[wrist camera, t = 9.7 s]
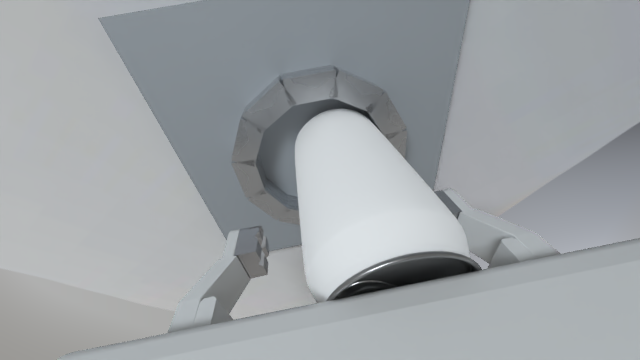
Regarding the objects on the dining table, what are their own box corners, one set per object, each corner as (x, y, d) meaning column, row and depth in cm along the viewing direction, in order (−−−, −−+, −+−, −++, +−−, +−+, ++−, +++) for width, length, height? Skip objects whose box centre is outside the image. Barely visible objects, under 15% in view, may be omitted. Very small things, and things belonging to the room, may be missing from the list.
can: (303, 97, 15) (341, 237, 5) (390, 116, 17) (543, 250, 7) (287, 177, 18) (292, 353, 9) (360, 187, 20) (434, 344, 10)
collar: (400, 52, 14) (414, 55, 13) (391, 197, 21) (399, 210, 20) (210, 86, 14) (201, 94, 12) (264, 222, 21) (263, 237, 19)
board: (464, -41, 13) (478, -46, 12) (422, 211, 25) (427, 219, 24) (112, 18, 12) (97, 17, 12) (238, 248, 24) (236, 257, 23)
